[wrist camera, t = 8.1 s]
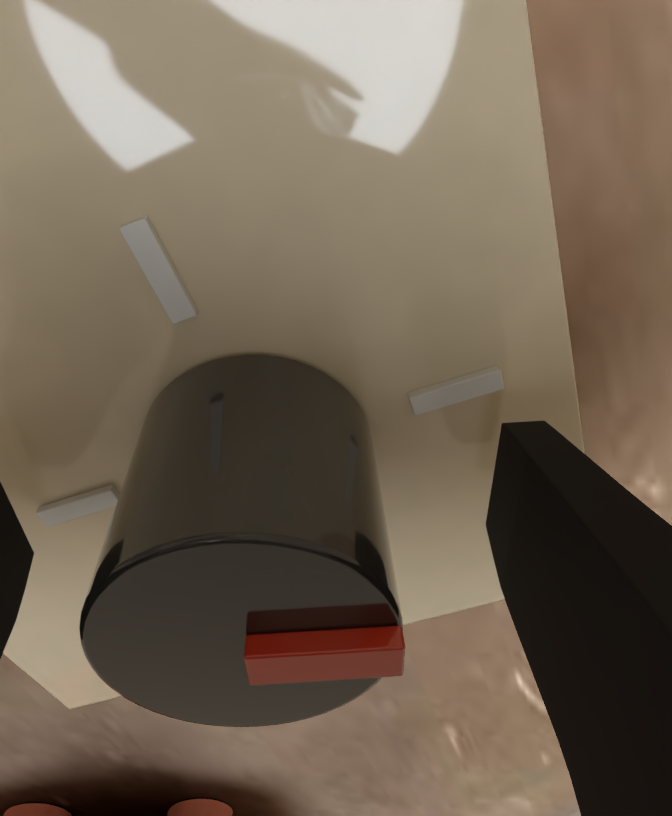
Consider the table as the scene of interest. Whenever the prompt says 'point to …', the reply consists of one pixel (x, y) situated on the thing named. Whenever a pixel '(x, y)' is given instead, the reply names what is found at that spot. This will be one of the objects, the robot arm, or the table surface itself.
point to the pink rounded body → (190, 812)
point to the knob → (247, 552)
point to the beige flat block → (271, 260)
